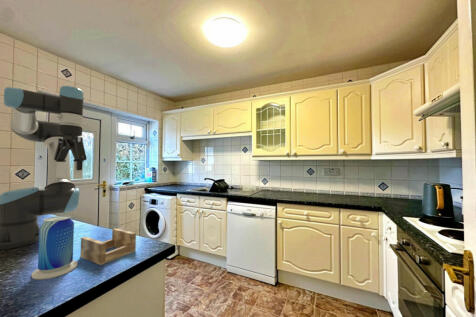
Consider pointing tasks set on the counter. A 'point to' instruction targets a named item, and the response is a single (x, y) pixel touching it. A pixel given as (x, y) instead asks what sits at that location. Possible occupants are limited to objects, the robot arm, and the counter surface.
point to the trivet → (39, 275)
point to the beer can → (55, 244)
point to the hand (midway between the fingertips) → (68, 178)
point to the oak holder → (97, 249)
